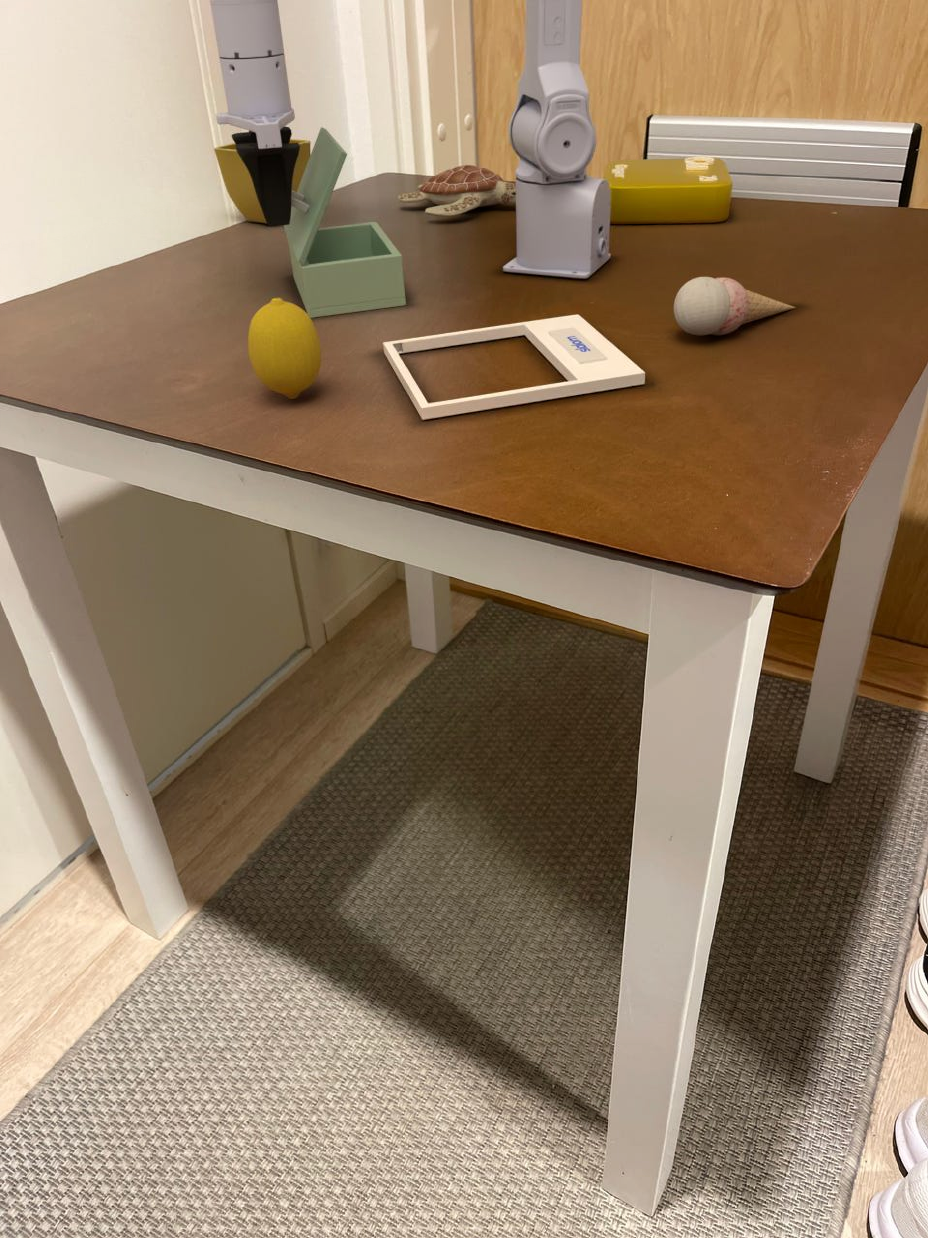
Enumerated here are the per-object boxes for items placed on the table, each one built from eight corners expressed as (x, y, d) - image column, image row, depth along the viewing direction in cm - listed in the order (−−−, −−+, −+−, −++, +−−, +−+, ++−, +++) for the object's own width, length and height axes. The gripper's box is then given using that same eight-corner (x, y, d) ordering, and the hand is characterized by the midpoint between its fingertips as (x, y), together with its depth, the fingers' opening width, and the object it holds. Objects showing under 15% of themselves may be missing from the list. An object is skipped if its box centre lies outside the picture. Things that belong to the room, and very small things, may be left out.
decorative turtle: (495, 229, 113) (494, 184, 110) (376, 220, 119) (372, 177, 116) (549, 194, 126) (550, 153, 123) (439, 187, 132) (437, 148, 129)
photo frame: (645, 370, 73) (421, 405, 70) (644, 383, 74) (422, 419, 70) (578, 312, 84) (382, 340, 81) (577, 324, 85) (384, 352, 82)
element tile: (603, 195, 124) (605, 155, 121) (720, 193, 122) (724, 152, 119) (601, 225, 112) (602, 182, 109) (730, 223, 110) (735, 179, 107)
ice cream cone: (776, 339, 88) (664, 340, 80) (772, 287, 88) (659, 284, 80) (819, 328, 84) (707, 328, 76) (815, 274, 84) (701, 268, 76)
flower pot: (274, 208, 127) (262, 134, 122) (321, 215, 123) (311, 139, 117) (226, 223, 122) (211, 147, 116) (274, 231, 117) (261, 152, 112)
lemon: (314, 414, 72) (298, 311, 68) (247, 411, 73) (227, 309, 69) (336, 385, 77) (323, 286, 72) (273, 383, 78) (255, 285, 73)
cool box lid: (326, 129, 94) (282, 106, 92) (347, 153, 83) (297, 128, 81) (288, 229, 98) (245, 209, 96) (304, 264, 87) (255, 243, 85)
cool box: (380, 267, 103) (376, 221, 100) (406, 305, 92) (401, 254, 89) (293, 278, 101) (286, 231, 98) (309, 318, 90) (301, 267, 88)
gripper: (203, 50, 88) (230, 204, 96) (209, 67, 76) (239, 240, 84) (278, 45, 89) (298, 198, 97) (295, 61, 78) (316, 232, 86)
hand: (275, 217), depth 91 cm, fingers closed on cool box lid, 5 cm apart
